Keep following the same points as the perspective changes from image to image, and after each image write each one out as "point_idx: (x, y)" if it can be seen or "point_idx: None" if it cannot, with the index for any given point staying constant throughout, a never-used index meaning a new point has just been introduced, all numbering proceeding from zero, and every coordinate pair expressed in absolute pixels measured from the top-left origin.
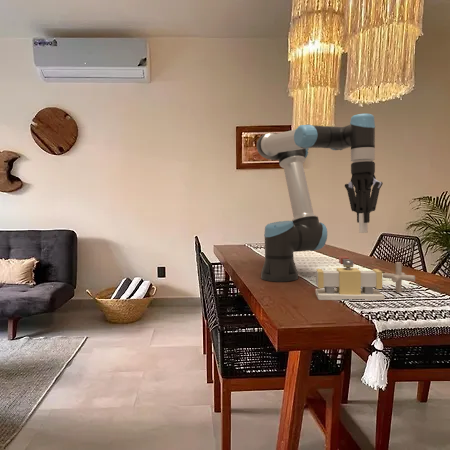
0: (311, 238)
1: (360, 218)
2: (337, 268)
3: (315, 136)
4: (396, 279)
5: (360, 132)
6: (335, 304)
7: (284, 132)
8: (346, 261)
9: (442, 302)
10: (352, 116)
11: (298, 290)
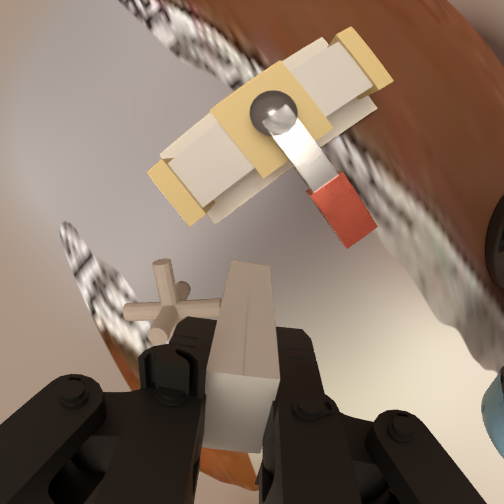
0: None
1: (252, 331)
2: (324, 118)
3: None
4: (154, 262)
5: None
6: (254, 27)
7: None
8: (273, 93)
9: (65, 240)
10: None
11: (427, 116)
